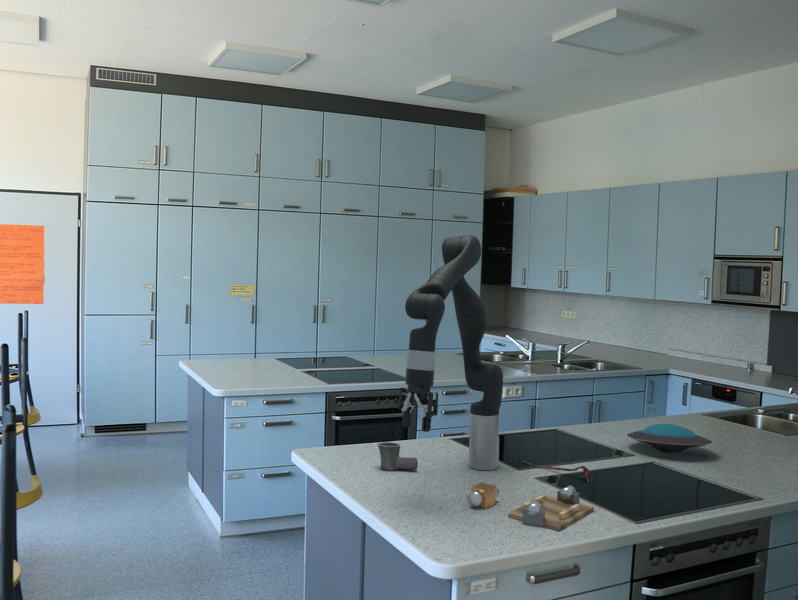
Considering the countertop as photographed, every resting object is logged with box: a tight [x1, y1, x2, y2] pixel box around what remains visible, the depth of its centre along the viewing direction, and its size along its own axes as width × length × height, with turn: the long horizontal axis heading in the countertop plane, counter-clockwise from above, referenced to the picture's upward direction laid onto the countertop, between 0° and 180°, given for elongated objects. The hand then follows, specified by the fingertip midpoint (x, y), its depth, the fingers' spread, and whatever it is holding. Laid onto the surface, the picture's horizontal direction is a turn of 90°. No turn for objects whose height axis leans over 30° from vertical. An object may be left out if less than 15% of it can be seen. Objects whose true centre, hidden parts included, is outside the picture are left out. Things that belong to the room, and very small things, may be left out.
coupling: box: [466, 482, 500, 510], centre depth 183 cm, size 10×4×5 cm, turn 140°
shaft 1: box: [522, 501, 545, 528], centre depth 170 cm, size 4×5×5 cm
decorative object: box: [624, 423, 714, 454], centre depth 245 cm, size 29×29×10 cm
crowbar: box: [523, 459, 593, 483], centre depth 216 cm, size 26×2×5 cm, turn 38°
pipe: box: [377, 441, 419, 471], centre depth 214 cm, size 6×13×8 cm, turn 79°
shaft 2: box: [556, 485, 581, 505], centre depth 184 cm, size 4×5×5 cm
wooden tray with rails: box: [507, 494, 595, 532], centre depth 177 cm, size 20×14×2 cm
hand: (415, 429), depth 182 cm, fingers open, 8 cm apart
